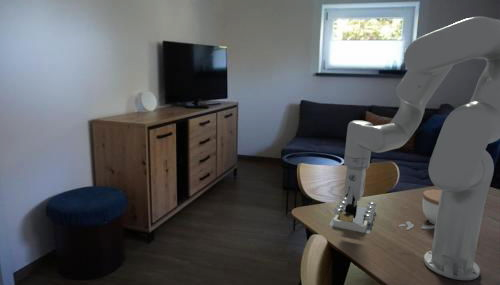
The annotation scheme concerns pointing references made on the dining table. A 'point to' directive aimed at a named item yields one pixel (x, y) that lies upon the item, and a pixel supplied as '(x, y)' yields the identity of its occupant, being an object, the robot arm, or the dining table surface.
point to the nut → (346, 216)
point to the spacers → (367, 215)
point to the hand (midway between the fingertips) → (350, 216)
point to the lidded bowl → (431, 204)
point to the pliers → (413, 226)
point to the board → (356, 224)
